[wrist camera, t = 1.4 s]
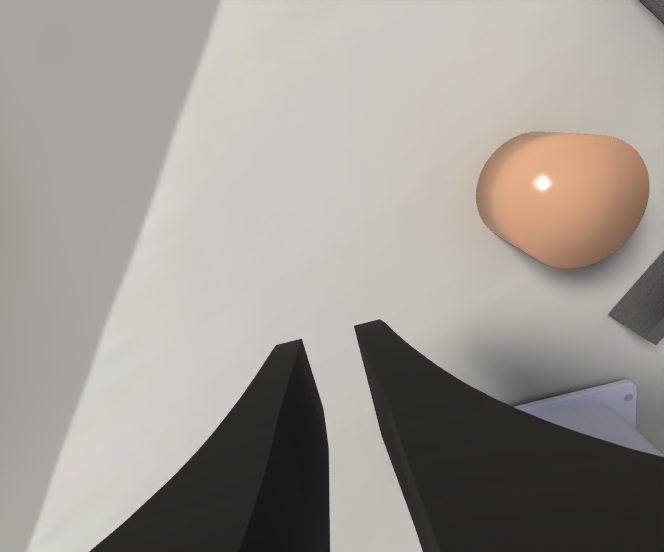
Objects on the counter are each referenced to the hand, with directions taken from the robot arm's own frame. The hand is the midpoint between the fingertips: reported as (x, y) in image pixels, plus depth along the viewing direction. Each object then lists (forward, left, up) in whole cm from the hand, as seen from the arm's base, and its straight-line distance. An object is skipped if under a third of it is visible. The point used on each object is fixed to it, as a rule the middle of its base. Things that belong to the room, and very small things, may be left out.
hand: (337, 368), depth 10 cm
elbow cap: (0, -10, -10) cm, 14 cm away
